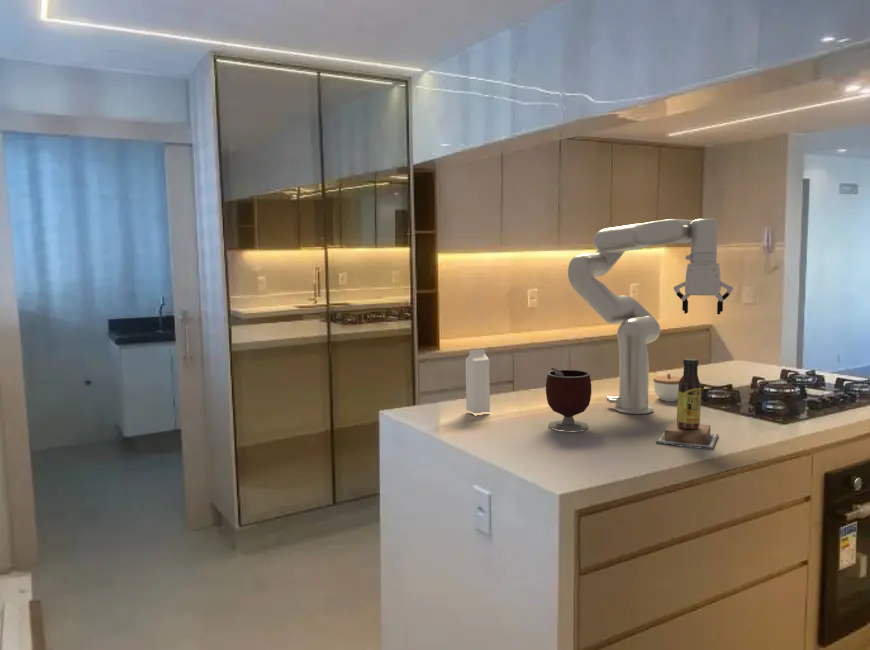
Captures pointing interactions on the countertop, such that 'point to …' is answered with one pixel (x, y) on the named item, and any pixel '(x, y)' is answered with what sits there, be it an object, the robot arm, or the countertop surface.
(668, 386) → the lidded jar
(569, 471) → the countertop surface
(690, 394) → the sauce bottle
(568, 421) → the mate gourd
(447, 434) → the countertop surface
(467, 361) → the milk
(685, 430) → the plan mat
